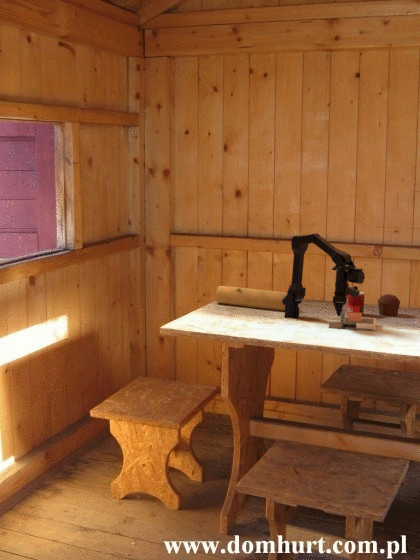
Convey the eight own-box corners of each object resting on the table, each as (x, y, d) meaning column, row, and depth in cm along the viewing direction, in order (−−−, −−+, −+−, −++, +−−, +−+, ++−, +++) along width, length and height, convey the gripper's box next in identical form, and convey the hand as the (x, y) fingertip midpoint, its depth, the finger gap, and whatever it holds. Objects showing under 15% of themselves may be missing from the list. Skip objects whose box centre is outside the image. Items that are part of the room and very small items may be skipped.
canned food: (363, 316, 394) (364, 294, 392) (346, 315, 395) (347, 293, 394) (363, 313, 401) (364, 291, 400) (347, 312, 403) (348, 290, 401)
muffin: (403, 317, 394) (404, 296, 393) (382, 317, 392) (383, 297, 391) (394, 312, 406) (395, 292, 404) (373, 312, 404) (374, 292, 402)
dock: (328, 330, 365) (328, 321, 364) (330, 324, 379) (330, 315, 378) (375, 333, 361) (375, 324, 360) (375, 327, 374) (375, 318, 374)
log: (291, 309, 408) (291, 290, 406) (283, 312, 400) (284, 292, 398) (223, 301, 425) (223, 283, 424) (215, 304, 417) (215, 285, 415)
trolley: (340, 326, 365) (340, 314, 364) (341, 321, 376) (342, 309, 375) (362, 327, 363) (363, 315, 362) (363, 322, 374) (364, 310, 373)
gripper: (358, 285, 357) (356, 319, 359) (360, 279, 375) (357, 312, 377) (333, 283, 359) (331, 317, 361) (336, 277, 377) (334, 310, 379)
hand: (339, 314), depth 370 cm, fingers open, 9 cm apart
